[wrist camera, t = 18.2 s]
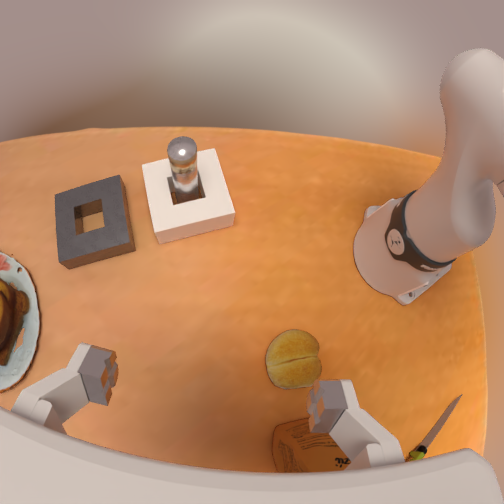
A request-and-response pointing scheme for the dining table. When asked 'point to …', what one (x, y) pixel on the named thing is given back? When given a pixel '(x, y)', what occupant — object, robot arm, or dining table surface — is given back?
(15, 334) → the food on plate
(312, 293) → the dining table surface
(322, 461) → the coffee package
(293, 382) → the bread roll
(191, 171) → the shiny cylindrical peg
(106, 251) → the socket block
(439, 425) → the kitchen knife
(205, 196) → the rack block
